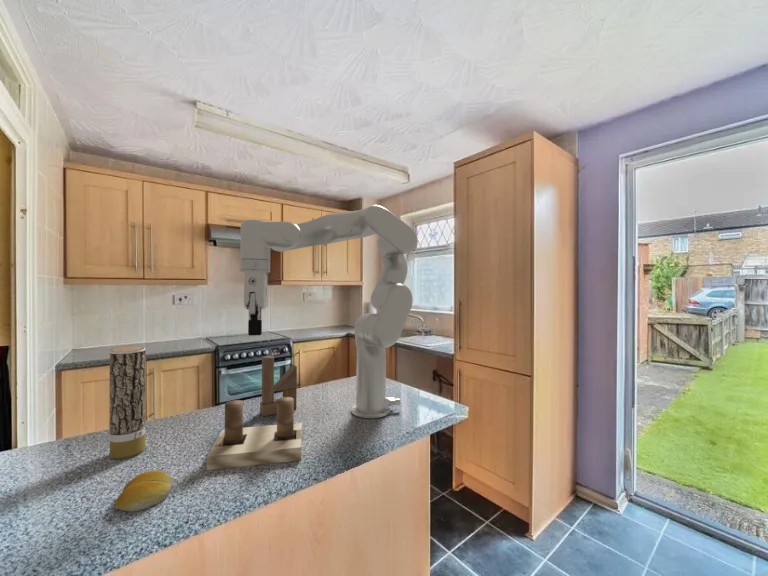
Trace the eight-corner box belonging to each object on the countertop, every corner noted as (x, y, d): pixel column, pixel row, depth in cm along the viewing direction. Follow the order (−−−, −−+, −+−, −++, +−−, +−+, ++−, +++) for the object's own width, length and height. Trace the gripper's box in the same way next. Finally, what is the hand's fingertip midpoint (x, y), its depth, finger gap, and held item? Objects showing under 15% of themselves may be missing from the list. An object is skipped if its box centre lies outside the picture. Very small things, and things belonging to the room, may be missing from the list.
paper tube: (105, 463, 75) (106, 352, 75) (113, 449, 81) (113, 347, 81) (142, 456, 78) (142, 350, 78) (147, 444, 84) (147, 345, 84)
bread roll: (109, 519, 58) (109, 496, 58) (128, 489, 66) (128, 469, 66) (165, 508, 61) (165, 486, 61) (176, 480, 69) (176, 461, 69)
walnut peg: (244, 447, 83) (244, 399, 83) (241, 455, 79) (241, 405, 79) (226, 449, 82) (226, 400, 82) (222, 457, 78) (222, 406, 78)
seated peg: (294, 442, 86) (294, 396, 86) (293, 450, 82) (293, 401, 81) (277, 444, 85) (277, 397, 85) (275, 452, 81) (275, 403, 80)
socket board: (301, 433, 91) (301, 422, 91) (301, 460, 77) (301, 447, 77) (222, 440, 86) (222, 429, 86) (206, 470, 73) (206, 456, 73)
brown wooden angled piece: (296, 409, 108) (297, 354, 108) (263, 417, 102) (263, 358, 102) (292, 406, 111) (293, 352, 111) (259, 413, 105) (260, 356, 105)
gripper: (266, 265, 83) (266, 339, 83) (272, 268, 98) (272, 330, 98) (234, 265, 81) (234, 339, 82) (245, 268, 96) (245, 331, 96)
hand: (255, 334), depth 90 cm, fingers closed
